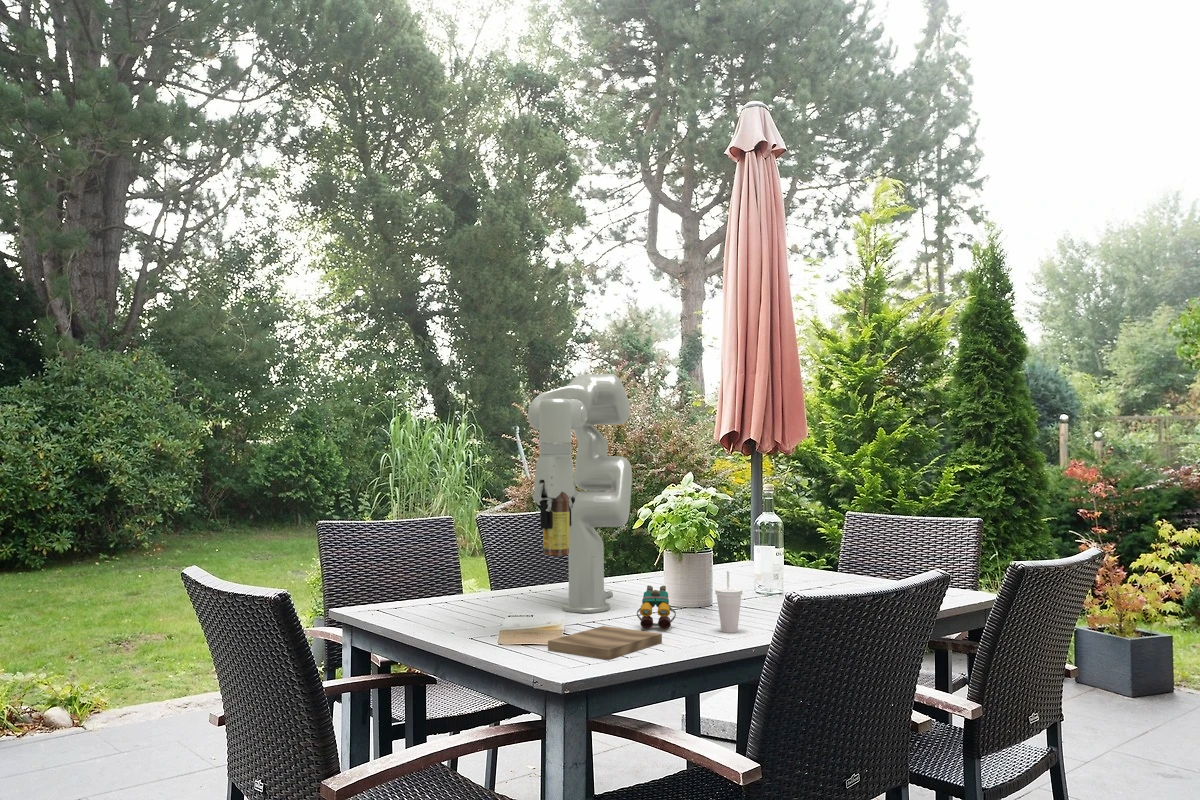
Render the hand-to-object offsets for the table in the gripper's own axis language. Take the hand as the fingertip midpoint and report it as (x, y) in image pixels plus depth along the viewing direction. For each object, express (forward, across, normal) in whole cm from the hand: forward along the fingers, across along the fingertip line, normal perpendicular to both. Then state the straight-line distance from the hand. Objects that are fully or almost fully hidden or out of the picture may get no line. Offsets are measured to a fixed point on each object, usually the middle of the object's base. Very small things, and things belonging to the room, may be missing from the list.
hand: (556, 526), depth 212 cm
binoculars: (+25, -17, +16) cm, 35 cm away
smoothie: (+25, -24, +32) cm, 48 cm away
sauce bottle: (+7, 0, 0) cm, 7 cm away
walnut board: (+25, +6, +18) cm, 31 cm away
